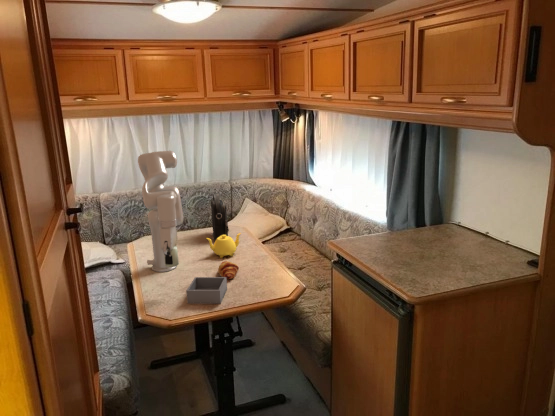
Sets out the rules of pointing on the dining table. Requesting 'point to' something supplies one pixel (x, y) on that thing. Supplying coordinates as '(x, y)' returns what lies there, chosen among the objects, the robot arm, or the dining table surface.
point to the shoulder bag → (218, 217)
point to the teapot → (224, 245)
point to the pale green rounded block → (175, 257)
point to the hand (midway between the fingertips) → (171, 261)
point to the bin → (207, 290)
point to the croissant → (228, 269)
